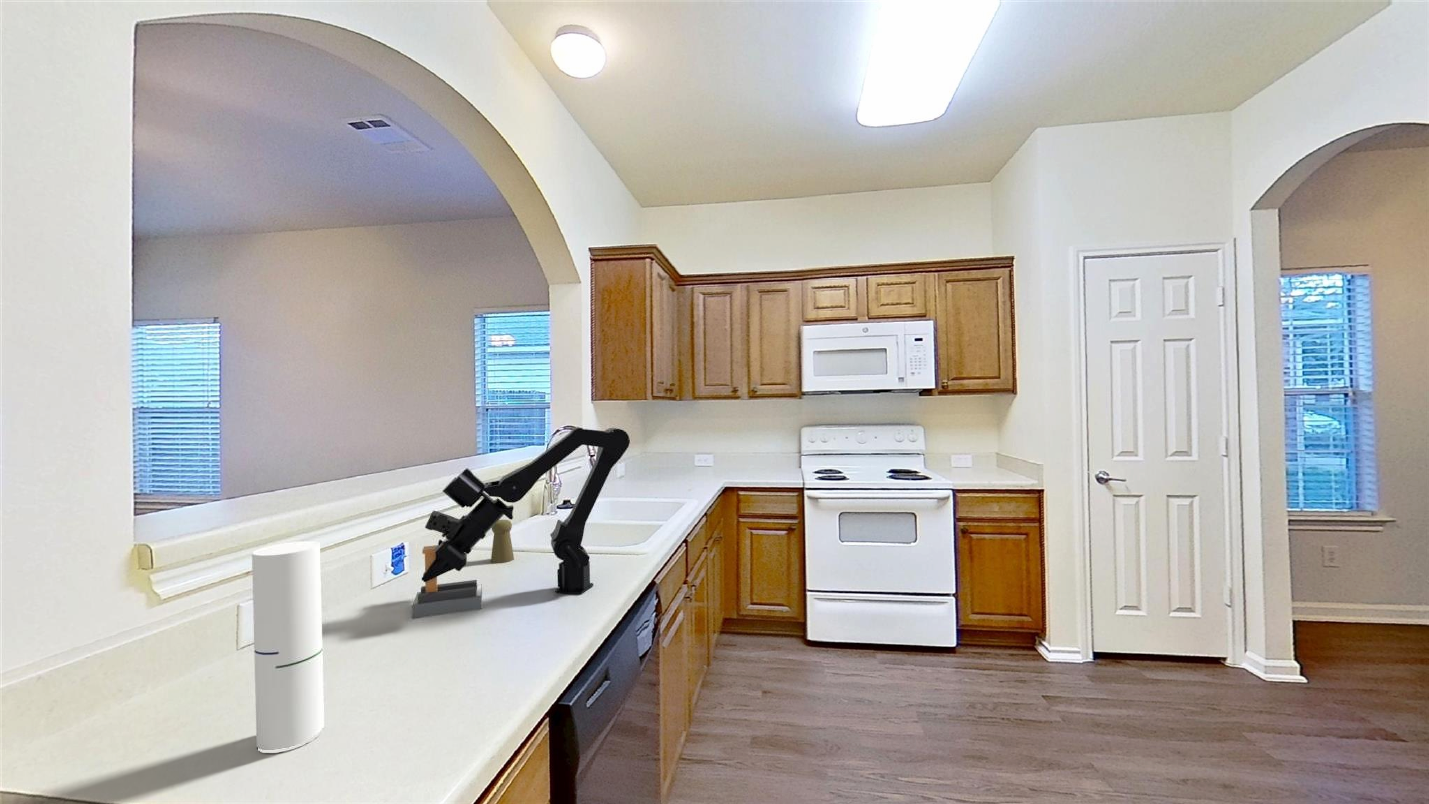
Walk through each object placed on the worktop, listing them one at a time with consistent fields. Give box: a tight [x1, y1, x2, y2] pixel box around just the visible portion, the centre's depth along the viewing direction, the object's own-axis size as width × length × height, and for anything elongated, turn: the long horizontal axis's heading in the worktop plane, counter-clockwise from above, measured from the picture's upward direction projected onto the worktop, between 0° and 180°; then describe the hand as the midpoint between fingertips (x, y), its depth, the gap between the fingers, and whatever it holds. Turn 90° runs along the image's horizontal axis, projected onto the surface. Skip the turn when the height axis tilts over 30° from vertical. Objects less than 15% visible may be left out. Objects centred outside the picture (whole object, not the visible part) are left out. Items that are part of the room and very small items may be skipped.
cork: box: [490, 519, 515, 564], centre depth 158 cm, size 6×6×11 cm
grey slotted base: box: [411, 579, 483, 619], centre depth 123 cm, size 13×9×4 cm
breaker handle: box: [421, 544, 439, 593], centre depth 121 cm, size 3×3×10 cm
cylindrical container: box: [251, 540, 325, 750], centre depth 75 cm, size 7×7×25 cm
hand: (423, 578), depth 121 cm, fingers closed on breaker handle, 2 cm apart
